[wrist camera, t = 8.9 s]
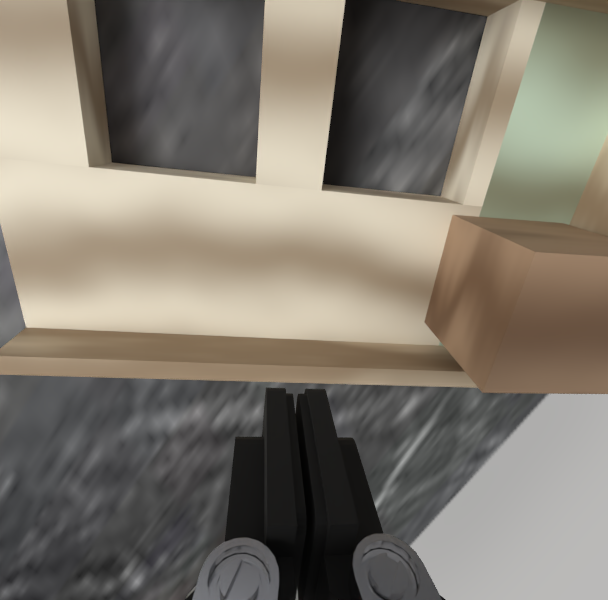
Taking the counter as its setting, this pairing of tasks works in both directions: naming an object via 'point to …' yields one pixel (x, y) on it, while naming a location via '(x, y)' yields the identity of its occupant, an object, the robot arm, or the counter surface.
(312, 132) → the box
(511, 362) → the walnut block
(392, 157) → the counter surface
